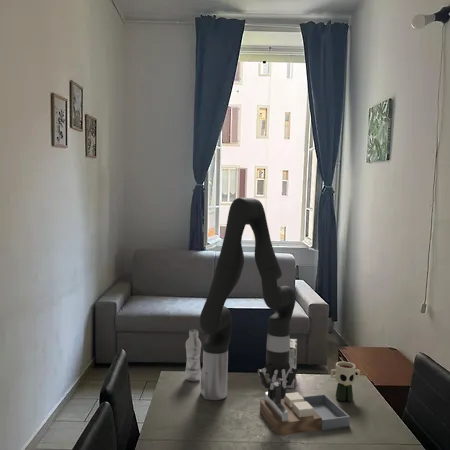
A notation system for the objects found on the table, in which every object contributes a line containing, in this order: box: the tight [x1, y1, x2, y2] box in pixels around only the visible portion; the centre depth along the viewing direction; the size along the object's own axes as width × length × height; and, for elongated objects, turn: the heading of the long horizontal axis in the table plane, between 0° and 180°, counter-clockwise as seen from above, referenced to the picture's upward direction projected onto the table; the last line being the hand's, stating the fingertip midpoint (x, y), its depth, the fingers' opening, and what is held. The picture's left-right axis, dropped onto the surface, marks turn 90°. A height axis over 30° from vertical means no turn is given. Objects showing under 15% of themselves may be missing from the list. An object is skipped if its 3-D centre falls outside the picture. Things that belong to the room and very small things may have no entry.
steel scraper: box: [264, 381, 288, 422], centre depth 150 cm, size 2×15×9 cm, turn 16°
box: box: [302, 393, 351, 432], centre depth 155 cm, size 10×17×4 cm, turn 16°
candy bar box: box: [286, 338, 298, 390], centre depth 181 cm, size 11×5×16 cm, turn 168°
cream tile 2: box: [293, 401, 314, 417], centre depth 149 cm, size 5×5×2 cm
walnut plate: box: [259, 399, 322, 436], centre depth 151 cm, size 15×16×4 cm
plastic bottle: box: [184, 329, 202, 382], centre depth 181 cm, size 6×7×20 cm
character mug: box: [330, 361, 361, 402], centre depth 168 cm, size 11×7×13 cm, turn 91°
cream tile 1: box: [284, 391, 304, 407], centre depth 155 cm, size 5×5×2 cm
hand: (276, 398), depth 150 cm, fingers open, 3 cm apart
